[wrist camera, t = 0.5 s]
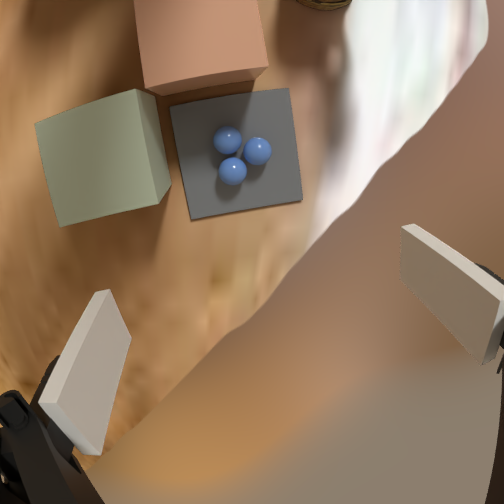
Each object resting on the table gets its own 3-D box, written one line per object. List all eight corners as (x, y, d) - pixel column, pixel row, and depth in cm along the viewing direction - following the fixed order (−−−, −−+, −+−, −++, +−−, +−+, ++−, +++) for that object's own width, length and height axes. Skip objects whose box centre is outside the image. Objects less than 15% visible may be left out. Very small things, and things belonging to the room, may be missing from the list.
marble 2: (216, 158, 34) (216, 161, 31) (243, 153, 34) (245, 156, 32) (220, 184, 35) (221, 190, 33) (247, 180, 36) (250, 185, 33)
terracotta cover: (150, 15, 27) (132, -13, 19) (241, -1, 28) (250, -34, 19) (162, 96, 31) (145, 88, 23) (255, 79, 32) (268, 66, 23)
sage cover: (72, 120, 31) (34, 123, 22) (155, 96, 31) (135, 88, 23) (91, 203, 35) (59, 227, 26) (171, 183, 35) (158, 203, 27)
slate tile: (169, 106, 32) (169, 106, 31) (287, 88, 32) (288, 87, 32) (191, 218, 37) (191, 219, 37) (302, 199, 37) (303, 199, 37)
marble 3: (240, 139, 34) (242, 140, 31) (267, 134, 34) (271, 136, 31) (244, 165, 35) (246, 169, 32) (271, 161, 35) (275, 164, 32)
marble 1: (210, 128, 33) (210, 128, 30) (238, 123, 33) (240, 123, 30) (215, 155, 34) (215, 157, 31) (242, 150, 34) (245, 152, 31)
